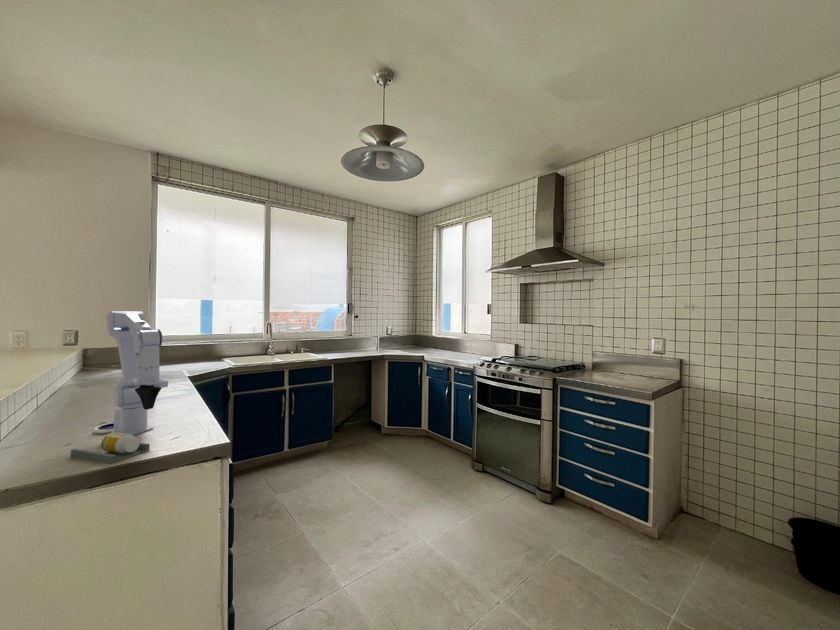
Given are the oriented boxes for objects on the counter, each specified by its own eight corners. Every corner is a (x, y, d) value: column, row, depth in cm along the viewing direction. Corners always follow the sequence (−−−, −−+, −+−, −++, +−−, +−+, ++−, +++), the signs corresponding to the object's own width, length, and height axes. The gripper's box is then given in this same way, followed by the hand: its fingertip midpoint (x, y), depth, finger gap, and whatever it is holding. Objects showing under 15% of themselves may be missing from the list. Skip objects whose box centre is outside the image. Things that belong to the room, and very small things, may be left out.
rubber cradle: (70, 456, 100) (70, 449, 100) (110, 444, 110) (110, 438, 110) (111, 464, 95) (111, 456, 95) (149, 450, 105) (149, 443, 105)
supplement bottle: (115, 428, 106) (138, 431, 103) (123, 442, 108) (145, 445, 105) (96, 441, 101) (119, 444, 98) (104, 455, 103) (127, 458, 100)
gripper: (119, 367, 112) (119, 410, 112) (152, 369, 107) (152, 413, 107) (142, 365, 118) (142, 405, 118) (174, 366, 114) (174, 407, 114)
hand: (148, 408), depth 113 cm, fingers closed
